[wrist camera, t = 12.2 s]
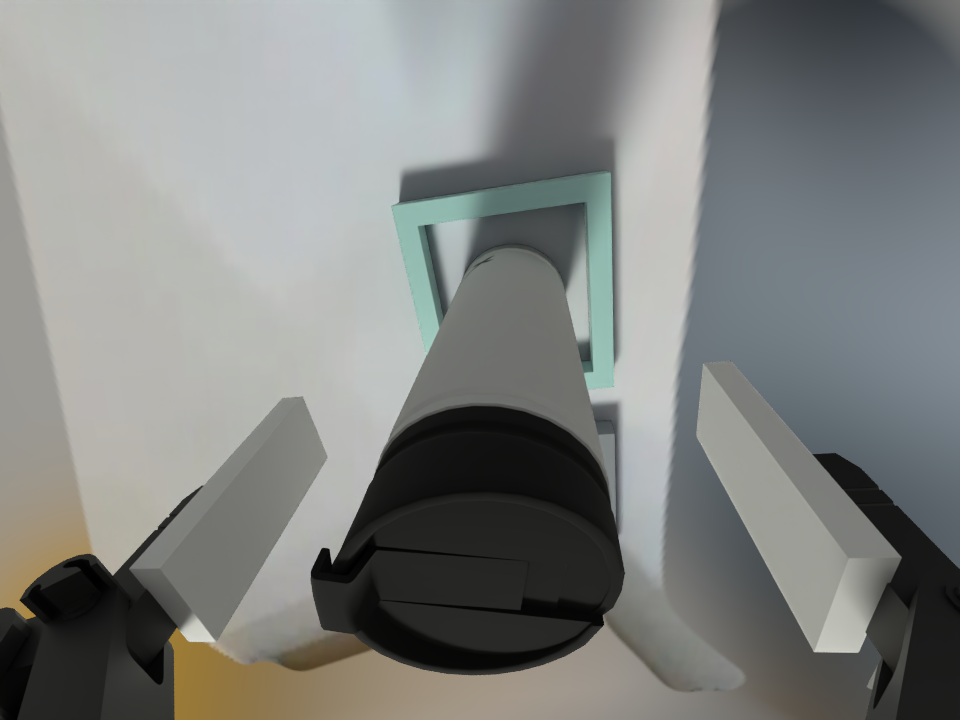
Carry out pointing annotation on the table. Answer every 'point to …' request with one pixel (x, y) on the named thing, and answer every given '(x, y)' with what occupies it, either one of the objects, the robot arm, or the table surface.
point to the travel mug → (485, 493)
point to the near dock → (507, 200)
